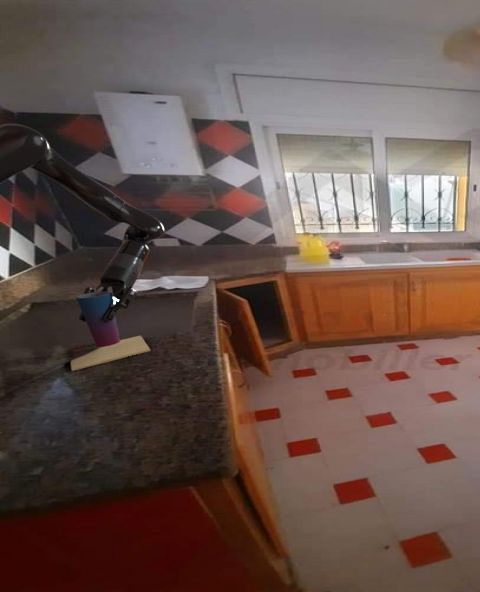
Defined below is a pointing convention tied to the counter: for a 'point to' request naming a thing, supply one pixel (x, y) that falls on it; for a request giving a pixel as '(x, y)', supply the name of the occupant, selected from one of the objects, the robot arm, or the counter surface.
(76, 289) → the counter surface
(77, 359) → the mat
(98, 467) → the counter surface
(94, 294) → the cup
